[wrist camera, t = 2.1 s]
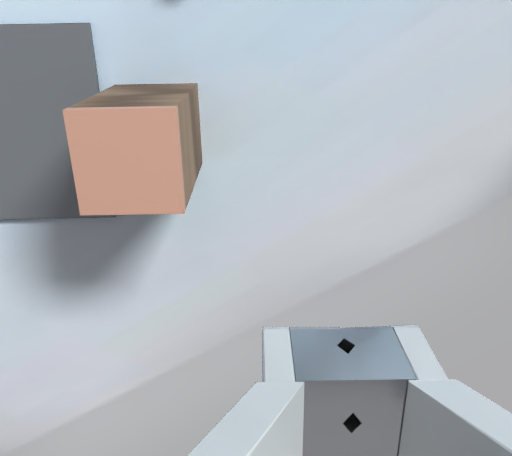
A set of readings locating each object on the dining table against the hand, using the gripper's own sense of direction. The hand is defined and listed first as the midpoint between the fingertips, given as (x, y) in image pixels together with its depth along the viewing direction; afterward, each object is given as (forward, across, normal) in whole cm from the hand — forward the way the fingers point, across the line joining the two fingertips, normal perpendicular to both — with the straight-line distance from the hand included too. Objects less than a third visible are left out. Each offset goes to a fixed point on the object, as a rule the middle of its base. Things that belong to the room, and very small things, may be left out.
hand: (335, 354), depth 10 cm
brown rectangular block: (+23, +8, 0) cm, 24 cm away
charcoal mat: (+23, +16, 0) cm, 28 cm away
